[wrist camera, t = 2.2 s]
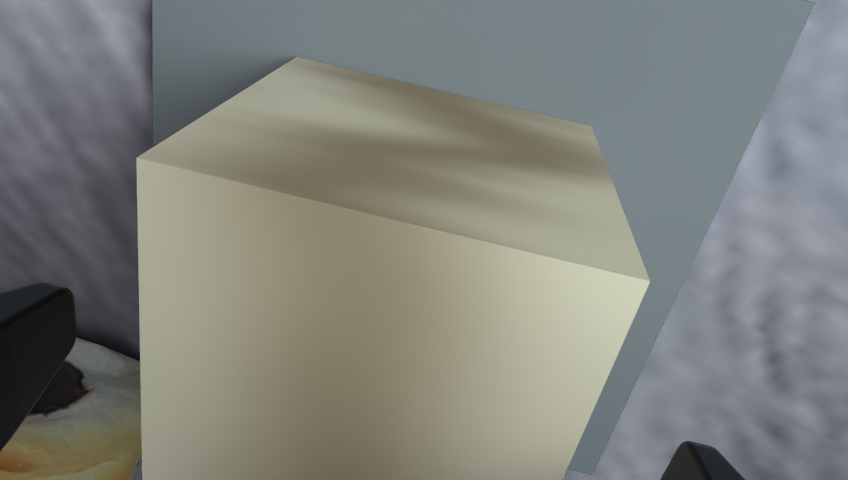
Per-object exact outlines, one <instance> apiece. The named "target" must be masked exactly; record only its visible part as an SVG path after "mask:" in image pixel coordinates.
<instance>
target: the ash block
mask: <svg viewBox="0 0 848 480" xmlns="http://www.w3.org/2000/svg"><path fill="white" fill-rule="evenodd" d="M136 160H137V216H138V271H139V327H140V382H141V438H142V480H562V479H563V477H564V475H565V473H566V470H567V468H568V466H569V464H570V461H571V459H572V457H573V455H574V452H575V450H576V448H577V446H578V443H579V441H580V439H581V437H582V434H583V432H584V430H585V428H586V425H587V423H588V421H589V419H590V416H591V414H592V412H593V409H594V407H595V405H596V403H597V400H598V398H599V396H600V394H601V391H602V389H603V387H604V385H605V382H606V380H607V378H608V376H609V373H610V371H611V369H612V367H613V364H614V362H615V360H616V358H617V355H618V353H619V351H620V349H621V346H622V344H623V342H624V340H625V337H626V335H627V333H628V330H629V328H630V326H631V324H632V321H633V319H634V317H635V315H636V312H637V310H638V308H639V306H640V303H641V301H642V299H643V297H644V294H645V292H646V290H647V288H648V285H649V283H650V280H649V277H648V274H647V272H646V269H645V266H644V264H643V261H642V258H641V256H640V253H639V250H638V248H637V245H636V243H635V240H634V237H633V235H632V232H631V229H630V227H629V224H628V221H627V219H626V216H625V213H624V211H623V208H622V206H621V203H620V200H619V198H618V195H617V192H616V190H615V187H614V184H613V182H612V179H611V176H610V174H609V171H608V169H607V166H606V163H605V161H604V158H603V155H602V153H601V150H600V147H599V145H598V142H597V139H596V137H595V134H594V132H593V129H592V126H588V125H584V124H580V123H575V122H571V121H567V120H563V119H559V118H554V117H550V116H546V115H542V114H537V113H533V112H529V111H525V110H520V109H516V108H512V107H508V106H504V105H499V104H495V103H491V102H487V101H482V100H478V99H474V98H470V97H465V96H461V95H457V94H453V93H449V92H444V91H440V90H436V89H432V88H427V87H423V86H419V85H415V84H410V83H406V82H402V81H398V80H394V79H389V78H385V77H381V76H377V75H372V74H368V73H364V72H360V71H355V70H351V69H347V68H343V67H339V66H334V65H330V64H326V63H322V62H317V61H313V60H309V59H305V58H300V57H296V58H294V59H292V60H291V61H289V62H288V63H286V64H284V65H283V66H281V67H280V68H278V69H277V70H275V71H273V72H272V73H270V74H269V75H267V76H265V77H264V78H262V79H261V80H259V81H257V82H256V83H254V84H253V85H251V86H250V87H248V88H246V89H245V90H243V91H242V92H240V93H238V94H237V95H235V96H234V97H232V98H230V99H229V100H227V101H226V102H224V103H223V104H221V105H219V106H218V107H216V108H215V109H213V110H211V111H210V112H208V113H207V114H205V115H203V116H202V117H200V118H199V119H197V120H196V121H194V122H192V123H191V124H189V125H188V126H186V127H184V128H183V129H181V130H180V131H178V132H176V133H175V134H173V135H172V136H170V137H169V138H167V139H165V140H164V141H162V142H161V143H159V144H157V145H156V146H154V147H153V148H151V149H149V150H148V151H146V152H145V153H143V154H142V155H140V156H138V157H137V158H136Z"/></svg>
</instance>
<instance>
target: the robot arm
mask: <svg viewBox="0 0 848 480" xmlns="http://www.w3.org/2000/svg"><path fill="white" fill-rule="evenodd" d="M76 334H77V331H76V318H75V305H74V296H73V294H72V292H71V290H69V289H68V288H66V287H62V286H58V285H54V284H50V283H44V282H42V283H36V284H33V285H29V286H26V287H22V288H19V289H16V290H12V291H9V292H6V293H2V294H0V452H1V450H2V449H3V448H4V447H5V445H6V444H7V443H8V442H9V440H10V439H11V438H12V436H13V435H14V434H15V432H16V431H17V430H18V428H19V427H20V425H21V424H22V423H23V421H24V420H25V418H26V417H27V415H28V414H29V412H30V411H31V409H32V408H33V406H34V405H35V403H36V402H37V400H38V399H39V398H40V396H41V395H42V393H43V392H44V390H45V389H46V387H47V386H48V384H49V383H50V381H51V380H52V378H53V377H54V375H55V374H56V372H57V371H58V369H59V368H60V367H61V365H62V364H63V362H64V361H65V359H66V358H67V356H68V355H69V353H70V352H71V350H72V348H73V346H74V344H75V341H76ZM661 480H745V479H744V478H743V477H742V476H741V475H740V474H739V473H738V472H737V471H736V470H735V468H734V467H733V466H732V465H731V464H730V463H729V462H728V461H727V460H726V459H725V458H724V457H723V456H722V455H721V454H720V453H719V452H718V451H717V450H716V449H715V448H713V447H711V446H708V445H704V444H699V443H695V442H691V441H685V442H683V443H682V444H681V445H680V446H679V447H678V449H677V451H676V452H675V454H674V456H673V458H672V460H671V462H670V463H669V465H668V467H667V469H666V471H665V472H664V474H663V476H662V478H661Z"/></svg>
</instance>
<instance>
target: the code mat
mask: <svg viewBox="0 0 848 480" xmlns="http://www.w3.org/2000/svg"><path fill="white" fill-rule="evenodd" d="M814 5H815V2H811V1H807V0H152V39H153V147H154V146H156V145H157V144H159V143H161V142H162V141H164V140H165V139H167V138H169V137H170V136H172V135H173V134H175V133H176V132H178V131H180V130H181V129H183V128H184V127H186V126H188V125H189V124H191V123H192V122H194V121H196V120H197V119H199V118H200V117H202V116H203V115H205V114H207V113H208V112H210V111H211V110H213V109H215V108H216V107H218V106H219V105H221V104H223V103H224V102H226V101H227V100H229V99H230V98H232V97H234V96H235V95H237V94H238V93H240V92H242V91H243V90H245V89H246V88H248V87H250V86H251V85H253V84H254V83H256V82H257V81H259V80H261V79H262V78H264V77H265V76H267V75H269V74H270V73H272V72H273V71H275V70H277V69H278V68H280V67H281V66H283V65H284V64H286V63H288V62H289V61H291V60H292V59H294V58H296V57H300V58H305V59H309V60H313V61H317V62H322V63H326V64H330V65H334V66H339V67H343V68H347V69H351V70H355V71H360V72H364V73H368V74H372V75H377V76H381V77H385V78H389V79H394V80H398V81H402V82H406V83H410V84H415V85H419V86H423V87H427V88H432V89H436V90H440V91H444V92H449V93H453V94H457V95H461V96H465V97H470V98H474V99H478V100H482V101H487V102H491V103H495V104H499V105H504V106H508V107H512V108H516V109H520V110H525V111H529V112H533V113H537V114H542V115H546V116H550V117H554V118H559V119H563V120H567V121H571V122H575V123H580V124H584V125H588V126H592V129H593V132H594V134H595V137H596V139H597V142H598V145H599V147H600V150H601V153H602V155H603V158H604V161H605V163H606V166H607V169H608V171H609V174H610V176H611V179H612V182H613V184H614V187H615V190H616V192H617V195H618V198H619V200H620V203H621V206H622V208H623V211H624V213H625V216H626V219H627V221H628V224H629V227H630V229H631V232H632V235H633V237H634V240H635V243H636V245H637V248H638V250H639V253H640V256H641V258H642V261H643V264H644V266H645V269H646V272H647V274H648V277H649V280H650V283H649V285H648V288H647V290H646V292H645V294H644V297H643V299H642V301H641V303H640V306H639V308H638V310H637V312H636V315H635V317H634V319H633V321H632V324H631V326H630V328H629V330H628V333H627V335H626V337H625V340H624V342H623V344H622V346H621V349H620V351H619V353H618V355H617V358H616V360H615V362H614V364H613V367H612V369H611V371H610V373H609V376H608V378H607V380H606V382H605V385H604V387H603V389H602V391H601V394H600V396H599V398H598V400H597V403H596V405H595V407H594V409H593V412H592V414H591V416H590V419H589V421H588V423H587V425H586V428H585V430H584V432H583V434H582V437H581V439H580V441H579V443H578V446H577V448H576V450H575V452H574V455H573V457H572V459H571V461H570V464H569V466H568V468H567V469H571V470H575V471H579V472H583V473H587V474H591V475H592V474H593V472H594V470H595V468H596V465H597V463H598V461H599V459H600V457H601V455H602V453H603V451H604V449H605V446H606V444H607V442H608V440H609V438H610V436H611V434H612V432H613V429H614V427H615V425H616V423H617V421H618V419H619V417H620V415H621V413H622V410H623V408H624V406H625V404H626V402H627V400H628V398H629V396H630V394H631V391H632V389H633V387H634V385H635V383H636V381H637V379H638V377H639V375H640V372H641V370H642V368H643V366H644V364H645V362H646V360H647V358H648V355H649V353H650V351H651V349H652V347H653V345H654V343H655V341H656V339H657V336H658V334H659V332H660V330H661V328H662V326H663V324H664V322H665V320H666V317H667V315H668V313H669V311H670V309H671V307H672V305H673V303H674V301H675V298H676V296H677V294H678V292H679V290H680V288H681V286H682V284H683V281H684V279H685V277H686V275H687V273H688V271H689V269H690V267H691V265H692V262H693V260H694V258H695V256H696V254H697V252H698V250H699V248H700V246H701V243H702V241H703V239H704V237H705V235H706V233H707V231H708V229H709V227H710V224H711V222H712V220H713V218H714V216H715V214H716V212H717V210H718V207H719V205H720V203H721V201H722V199H723V197H724V195H725V193H726V191H727V188H728V186H729V184H730V182H731V180H732V178H733V176H734V174H735V172H736V169H737V167H738V165H739V163H740V161H741V159H742V157H743V155H744V153H745V150H746V148H747V146H748V144H749V142H750V140H751V138H752V136H753V133H754V131H755V129H756V127H757V125H758V123H759V121H760V119H761V117H762V114H763V112H764V110H765V108H766V106H767V104H768V102H769V100H770V98H771V95H772V93H773V91H774V89H775V87H776V85H777V83H778V81H779V79H780V76H781V74H782V72H783V70H784V68H785V66H786V64H787V62H788V59H789V57H790V55H791V53H792V51H793V49H794V47H795V45H796V43H797V40H798V38H799V36H800V34H801V32H802V30H803V28H804V26H805V24H806V21H807V19H808V17H809V15H810V13H811V11H812V9H813V7H814Z"/></svg>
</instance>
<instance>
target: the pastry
mask: <svg viewBox="0 0 848 480" xmlns="http://www.w3.org/2000/svg"><path fill="white" fill-rule="evenodd" d="M141 458H142V438H141V382H140V362H139V361H137V360H135V359H133V358H130V357H128V356H125V355H123V354H121V353H119V352H116V351H113V350H110V349H108V348H106V347H104V346H101V345H98V344H95V343H92V342H89V341H86V340H83V339H80V338H77V337H76V341H75V344H74V346H73V348H72V350H71V352H70V353H69V355H68V356H67V358H66V359H65V361H64V362H63V364H62V365H61V367H60V368H59V369H58V371H57V372H56V374H55V375H54V377H53V378H52V380H51V381H50V383H49V384H48V386H47V387H46V389H45V390H44V392H43V393H42V395H41V396H40V398H39V399H38V400H37V402H36V403H35V405H34V406H33V408H32V409H31V411H30V412H29V414H28V415H27V417H26V418H25V420H24V421H23V423H22V424H21V425H20V427H19V428H18V430H17V431H16V432H15V434H14V435H13V436H12V438H11V439H10V440H9V442H8V443H7V444H6V445H5V447H4V448H3V449H2V450H1V452H0V480H132V478H133V474H134V471H135V468H136V466H137V463H138V462H139V461H140V459H141Z"/></svg>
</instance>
